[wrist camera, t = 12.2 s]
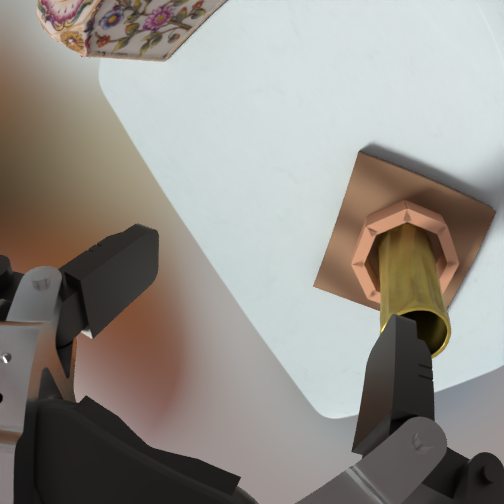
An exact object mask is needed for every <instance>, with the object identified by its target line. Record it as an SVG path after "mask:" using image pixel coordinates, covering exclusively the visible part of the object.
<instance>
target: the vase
mask: <svg viewBox="0 0 504 504" xmlns="http://www.w3.org/2000/svg"><path fill="white" fill-rule="evenodd" d="M377 258H378V261H379V274H380V292H381V302H380V326H381V329H380V334H381V333H382V331H383V329H384V327H385V325H386V324H387V322H388V320H389V318H390V317H391V315H392V314H397V315H400V316H403V317H406V318H409V319H412V320H415V322H416V329H417V339H420V340H423V341H425V343H426V345H427V347H428V349H429V351H430V353H431V357H432V358H434V357H436V356H437V355H438V354H440V353H441V352H442V351H443V350H444V349H445V348H446V346H447V344H448V342H449V339H450V336H451V326H450V319H449V315H448V312H447V308H446V305H445V302H444V298H443V295H442V291H441V286H440V281H439V277H438V273H437V268H436V263H435V259H434V254H433V251H432V244H431V241H430V239H429V237H428V235H427V234H426V233H425V232H424V231H423V230H422V229H421V228H419V227H417V226H415V225H411V224H401V225H399V226H396V227H394V228H392V229H389V230H387V231H386V232H385V233H384V234H383V235H382V237H381V238H380V240H379V242H378V245H377Z"/></svg>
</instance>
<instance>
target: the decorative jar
mask: <svg viewBox="0 0 504 504" xmlns="http://www.w3.org/2000/svg"><path fill="white" fill-rule="evenodd" d="M225 1H226V0H38V3H37V9H36V16H37V18H38V20H39V21H40V23H41V25H42V27H43V29H44V30H45V31H46V32H47V33H48V34H49V35H50V37H52V38H53V39H55V40H56V41H58V42H61V43H62V44H64V45H66V47H68V48H70V49H71V50H73V51H75V52H77V53H79V54H80V56H81V57H100V58H101V57H102V58H116V59H132V60H145V61H160V62H164V61H166V60H167V59H168V58H169V57H170V55H172V53H173V52H174V51H175V50H176V49H177V48H178V47H179V46H180V45H181V44H182V43H183V42H184V41H185V40H186V39H187V38H188V37H189V36H190V35H191V34H192V33H193V32H194V31H195V30H196V29H197V28H198V27H199V26H200V25H201V24H202V23H203V22H204V21H205V20H206V19H207V18H208V17H209V16H210V15H211V14H212V13H213V12H214V11H215V10H216V9H218V8H219V7H220V6H221V5H222V4H223V3H224V2H225Z"/></svg>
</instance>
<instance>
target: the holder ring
mask: <svg viewBox="0 0 504 504" xmlns="http://www.w3.org/2000/svg"><path fill="white" fill-rule="evenodd" d="M406 222H409V223H411V224H414V225H416V226H419V227H421V228H424V229H426V230H428V231H431V232H433V233H436V234H437V236H438V239H439V242H440V245H441V248H442V253H441V255H440V257H439V259H438V261H437V263H436V268H437V273H438V277H439V281H440V286H441V291H442V295H443V293H444V291H445V290H446V288H447V286H448V284H449V282H450V280H451V279H452V277H453V275H454V273H455V271H456V269H457V267H458V265H459V261H458V257H457V254H456V251H455V248H454V244H453V241H452V238H451V235H450V232H449V230H448V227H447V224H446V223H445V221H444V219H443V217H442V216H441V215H440V214H438V213H436V212H434V211H431V210H429V209H426V208H424V207H422V206H419V205H417V204H414V203H412V202H409V201H407V200H402V201H400V202H397V203H395V204H393V205H391V206H388V207H386V208H384V209H381V210H379V211H377V212H375V213H372V214H370V215H368V216H367V217H366V219H365V222H364V225H363V227H362V230H361V233H360V235H359V238H358V241H357V243H356V246H355V248H354V251H353V256H352V262H351V266H352V268H353V270H354V272H355V274H356V276H357V278H358V280H359V282H360V284H361V286H362V288H363V290H364V293H365V295H366V297H367V298H368V299H369V300H372V301H375V302H378V303H380V302H381V292H380V278H378V277H376V274H375V272H374V270H373V268H372V266H371V263H370V261H369V259H368V257H367V256H368V253H369V251H370V248H371V246H372V244H373V241H374V239H375V236H376V235H377V234H380V233H382V232H385V231H387V230H389V229H392V228H394V227H396V226H399V225H401V224H403V223H406Z"/></svg>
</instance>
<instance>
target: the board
mask: <svg viewBox="0 0 504 504" xmlns="http://www.w3.org/2000/svg"><path fill="white" fill-rule="evenodd" d="M402 200H407V201H409V202H412V203H414V204H417V205H419V206H422V207H424V208H426V209H429V210H431V211H434V212H436V213H438V214H440V215H441V216H442V217H443V219H444V221H445V223H446V224H447V227H448V230H449V232H450V235H451V238H452V241H453V244H454V248H455V251H456V254H457V257H458V261H459V265H458V267H457V269H456V271H455V273H454V275H453V277H452V279H451V280H450V282H449V284H448V286H447V288H446V290H445V291H444V293H443V298H444V302H445V305H446V308H447V307H448V305H449V304H450V302H451V300H452V299H453V297H454V295H455V293H456V292H457V290H458V288H459V286H460V285H461V283H462V281H463V279H464V277H465V275H466V274H467V272H468V270H469V268H470V266H471V264H472V262H473V260H474V258H475V256H476V254H477V252H478V250H479V248H480V246H481V244H482V242H483V240H484V238H485V236H486V233H487V231H488V229H489V227H490V225H491V222H492V220H493V218H494V215H495V213H496V211H495V210H494V209H493V208H492V207H490V206H488V205H486V204H484V203H482V202H480V201H478V200H476V199H474V198H472V197H470V196H468V195H466V194H463V193H461V192H459V191H457V190H455V189H453V188H451V187H448V186H446V185H444V184H442V183H439V182H437V181H435V180H432V179H430V178H428V177H425V176H423V175H421V174H418V173H416V172H413V171H411V170H408V169H406V168H403V167H401V166H398V165H396V164H393V163H390V162H388V161H385V160H383V159H380V158H377V157H374V156H372V155H369V154H366V153H363V152H360V151H359V152H358V155H357V159H356V162H355V165H354V168H353V172H352V175H351V178H350V181H349V184H348V187H347V190H346V194H345V197H344V200H343V203H342V206H341V209H340V212H339V215H338V218H337V221H336V224H335V227H334V229H333V232H332V235H331V238H330V241H329V244H328V247H327V249H326V252H325V255H324V258H323V261H322V263H321V266H320V269H319V272H318V274H317V277H316V280H315V282H314V285H313V287H316V288H319V289H321V290H324V291H327V292H329V293H332V294H335V295H338V296H340V297H343V298H346V299H348V300H351V301H354V302H357V303H359V304H362V305H365V306H367V307H370V308H373V309H376V310H378V311H380V303H378V302H375V301H372V300H369V299H368V298H367V297H366V295H365V293H364V290H363V288H362V286H361V284H360V282H359V280H358V278H357V276H356V274H355V272H354V270H353V268H352V266H351V262H352V256H353V251H354V248H355V246H356V243H357V241H358V238H359V235H360V233H361V230H362V227H363V225H364V222H365V219H366V217H367V216H368V215H370V214H372V213H375V212H377V211H379V210H381V209H384V208H386V207H388V206H391V205H393V204H395V203H397V202H400V201H402ZM403 224H411V223H409V222H406V223H403ZM411 225H414V224H411ZM415 226H416V225H415ZM417 227H419V226H417ZM419 228H421V227H419ZM421 229H422V230H423V231H424V232H425V233H426V234H427V235H428V237H429V239H430V241H431V244H432V251H433V254H434V259H435V263H437V261H438V259H439V257H440V255H441V253H442V248H441V245H440V242H439V239H438V236H437V234H436V233H433V232H431V231H428V230H426V229H424V228H421ZM385 232H386V231H385ZM385 232H382V233H380V234H377V235H376V236H375V239H374V241H373V244H372V246H371V248H370V251H369V253H368V256H367V257H368V259H369V261H370V263H371V266H372V268H373V270H374V272H375V274H376V277H378V278H380V274H379V261H378V258H377V245H378V242H379V240H380V238H381V237H382V235H383V234H384V233H385Z"/></svg>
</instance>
